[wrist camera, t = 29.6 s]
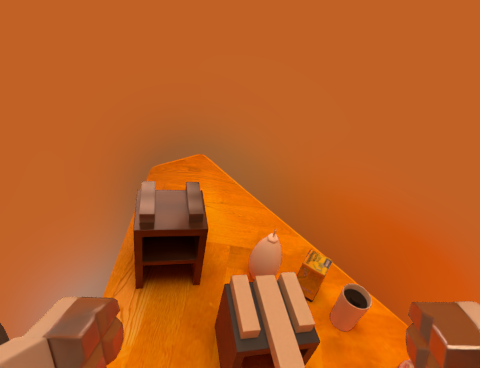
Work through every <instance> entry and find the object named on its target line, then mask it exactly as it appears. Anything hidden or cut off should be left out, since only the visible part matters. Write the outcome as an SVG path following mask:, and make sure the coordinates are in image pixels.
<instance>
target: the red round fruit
mask: <svg viewBox="0 0 480 368" xmlns="http://www.w3.org/2000/svg"><path fill="white" fill-rule="evenodd" d="M398 368H414V366H413V364H412V362H411V360H406V361H404V362H402V363H401V364H400V365H399V366H398Z"/></svg>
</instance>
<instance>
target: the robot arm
mask: <svg viewBox="0 0 480 368" xmlns="http://www.w3.org/2000/svg"><path fill="white" fill-rule="evenodd" d="M119 311H120V310H119V306H118V301H117V300H116V299H114V298H96V297H95V298H94V297H64V298H61V299H60V300H59V301H58V302H57V303H56V304H55V305H54V306H53V307H52V308H51V309H50V310H49V311H48V312H47V313H46V314H45V315H44V316H43V317H42V318H41V319H40V320H39V321H38V322H37V323H36V324H35V325H34V326H33V327H32V328H31V329H30V330H29V331H28V332H27V333H26V334H25V335H24V336H23V337H16V338H14V339H12V340H10V341H8V342H6V343H4V344H2V345H0V368H107V367H106V365H108V364H109V363H111V362H112V361H113V360H115V359H116V357H117V355H118V353H119V352H120V349H121V346H122V342H123V325H122V323H121V322H120V320H119V319H118V318H117V317H116V315H117V314H118V312H119ZM408 315H409V317H410V319H411V320H412V322H413V323H412V324H411V325H410V326H409V327H408V328H407V331H406V345H407V352H408V355H409V358H410V360H411V362H412V364H413V366H414V368H480V304H478V303H476V302H474V301H469V302H449V303H447V302H412V303H411V305H410V307H409V314H408Z"/></svg>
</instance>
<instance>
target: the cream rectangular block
mask: <svg viewBox="0 0 480 368" xmlns="http://www.w3.org/2000/svg"><path fill="white" fill-rule="evenodd" d="M253 286H254V290H255V294H256V298H257V301H258V305H259V309H260V313H261V317H262V321H263V324H264V328H265V332H266V336H267V340H268V344H269V347H270V351H271V355H272V359H273V363H274V366H275V368H305V365H304V362H303V359H302V356H301V353H300V350H299V347H298V344H297V341H296V338H295V335H294V332H293V329H292V326H291V323H290V320H289V317H288V314H287V311H286V308H285V305H284V302H283V299H282V295H281V292H280V289H279V286H278V283H277V280H276V277H275V275H262V276H255V279H254V282H253Z"/></svg>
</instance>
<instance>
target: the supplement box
mask: <svg viewBox="0 0 480 368" xmlns="http://www.w3.org/2000/svg"><path fill="white" fill-rule="evenodd" d="M331 263H332V260H330V259H329V258H327V257H325V256H323V255H321V254H320V253H318V252H316V251H314V250H312V249H311V250H310V251H309V253H308V255H307V256H306V258H305V260H304V261H303V263H302V266H301V268H300V270H299V273H298V275H297V279H298V282H299V284H300V287H301V289H302V292H303V294H304V297H305V299H307V300H309V301H310V302H312V301H313V299H314V297H315V295H316V293H317V291H318V289H319V287H320V285H321V283H322V281H323V279H324V277H325V275H326V273H327V271H328V269H329V267H330V265H331Z"/></svg>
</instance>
